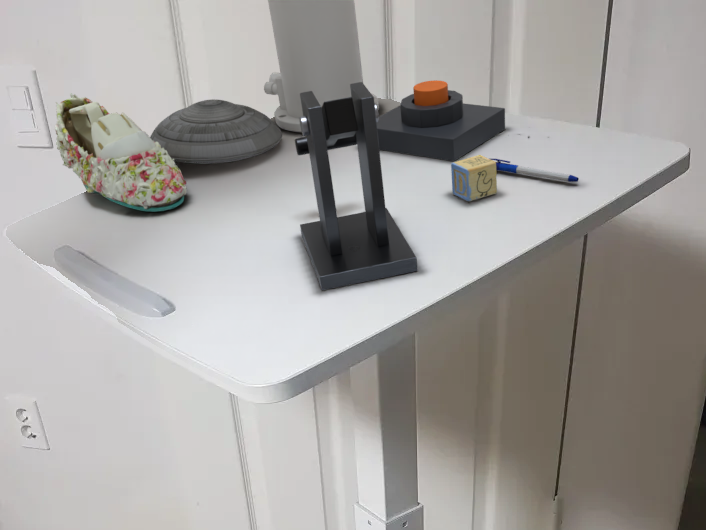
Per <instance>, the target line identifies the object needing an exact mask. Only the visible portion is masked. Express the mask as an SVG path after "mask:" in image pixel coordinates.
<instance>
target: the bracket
mask: <svg viewBox="0 0 706 530" xmlns="http://www.w3.org/2000/svg"><path fill="white" fill-rule="evenodd" d="M350 89H351V97H352V99H353V105H354V110H355V116H356V121H357V127H358V131H357V132H356V139H357V145H356V147H357V154H358V161H359V163H358V164H359V170H360V171H359V172H360V179H361V187H362V195H363V196H362V197H363V204H364V205H363V206H364V211H361V212H357V213H353V214H347V215H346V214H345V215H342V216H338V213H337V205H336V199H335V191H334V186H333V179H332V170H331V165H330V158H329V150H327V143H326V136H325V129H324V122H323V115H322V108H321V106H320V104H319V102H318V100H317V99H316V97H315V95H314V94H313V92H312V91H308V92H303V93H300V99H301V105H302V111H303V116H300V117H299V120H300V127H301V131H302V132H301V134H302V137H306V136H307V143H308V149H309V154H308V155H309V160H310V166H311V167H310V168H311V173H312V180H313V186H314V192H315V198H316V199H315V200H316V205H317V212H318V218H319V220H316V221H311V222H305V223H301V224H299V228H300V233H301V238H302V241H303V244H304V246H305V249H306V251H307V254H308V257H309V260H310V262H311V265H312V267H313V270H314V273H315V275H316V276H315V277H316V278H317V281H318V284H319V287H320V289H321V291H326V290H330V289H331V290H332V289H335V288H340V287H341V288H342V287H346V286H351V285H355V284H356V285H357V284H360V283H364V282H365V283H366V282H370V281H375V280H379V279H385V278H390V277H394V276H399V275H405V274H409V273H415V272H418V258H417V256H416V254H415V252H414V251H413V249H412V248H411V246H410V245H409V243H408V241H407V239H406V238H405V236H404V235H403V232H402V231H401V230H400V228H399V226H398V225H397V223H396V221H395V219H394V218H393V215H391V213H390V211H389V209H388V208H387V207H386V201H385V200H386V199H385V191H384V190H385V189H384V181H383V173H382V162H381V152H380V151H381V150H379V142H378V132H377V122H378V121H379V116H380V114H379V110H378V108H377V105H376V103H374V97H373V95H372V94H373V93H372V92H371V91H370V90H369V88H367V86H366V85H365V84H364V82H363V83H362V82H358V83H353V84H350ZM371 93H372V94H371Z"/></svg>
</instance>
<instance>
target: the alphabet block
mask: <svg viewBox="0 0 706 530" xmlns="http://www.w3.org/2000/svg"><path fill="white" fill-rule="evenodd" d="M491 159H492V158H487V157H485V156H483V155H481V154H478V155H474V156H471V157H466V158H464V159H461V160H456V161H452V162H451V163H450V168H451V169H450V173H451V188H452V194H453V195H455V196H457V197H458V198H460V199H462V200H464V201H467V202H472V201H475V200H479V199H481V198H482V199H483V198H485V197H488V196H493V195H496V194H497V192H498V189H497V187H498V186H497V184H498V183H497V182H498V181H497V170H496V162H497V161H496V160H491Z"/></svg>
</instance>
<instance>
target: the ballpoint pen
mask: <svg viewBox="0 0 706 530" xmlns="http://www.w3.org/2000/svg"><path fill="white" fill-rule="evenodd" d="M490 159H491V160H493V161H495V162H496V171H499V172H505V173H512V174H521V175H527V176H533V177H538V178H543V179H551V180H555V181H562V182H568V183H570V182H571V183H577V182H579V177H578V176H575V175H573V174H567V173H562V172H555V171H552V170H551V171H550V170H544V169H538V168H534V167H526V166H520V165H518V164H512V163H511V161H509V160H504V159H499V158H490Z"/></svg>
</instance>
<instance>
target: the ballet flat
mask: <svg viewBox="0 0 706 530" xmlns="http://www.w3.org/2000/svg"><path fill="white" fill-rule="evenodd" d="M69 96H70V97H69V98H67V99H64V100H62V101H61V102H60V103H58V102H57V101H55V104H56V120H57V121H56V123H55V125H54V131H55V135H56V141H55V145H56V149H57V150H58V151H59V153H60V157H61V159H62V161H63V163H62V166H64V167H66V168H67V169H72V172H73V173H74V174H76V176H77V177H78V179H80V181H81V183H82V185H83V186H84V188H85V190H86V193H88V194H93V195H94V194H95V195H101V196H102V197H104V198H105V199H106V200H109V201H110V202H113V203H115V204H117V205H120V206H123V207H125V208H129V209H133V210H137V211H141V212H152V213H153V212H154V213H156V212H165V211H168V210H173V209H175V208H178V207H179V206H180V205H182V204H183V203H184V201H185V196H186V195H187V194H188V192H187V186H186V185H187V181H186V180H185V179H184V176H183V174H182V171H181V168H179V167H178V165H176V161H173V160H174V159H171V157H170V156H169V155H168V152H167V150H164V148H161V145H160V144H159V143H158V142H157V141H156V142H154V141H153V140H152V139H151V138H150V135H149V134H148V132H146V131H144V130H143V129H141V127H140V126H139V125H137V123H135V121H133V120H132V119H131V118H130V117H129V115H127V114H125V112H121V113H118V112H112V113H110V112H108V110H107V109H106V107H105V106H103V105H100V103H99V102H98V101H93V100H92V99H90V98H88V97H86V96H84V97H79V96H78V95H76V94H75V93H71V92H70V93H69Z"/></svg>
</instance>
